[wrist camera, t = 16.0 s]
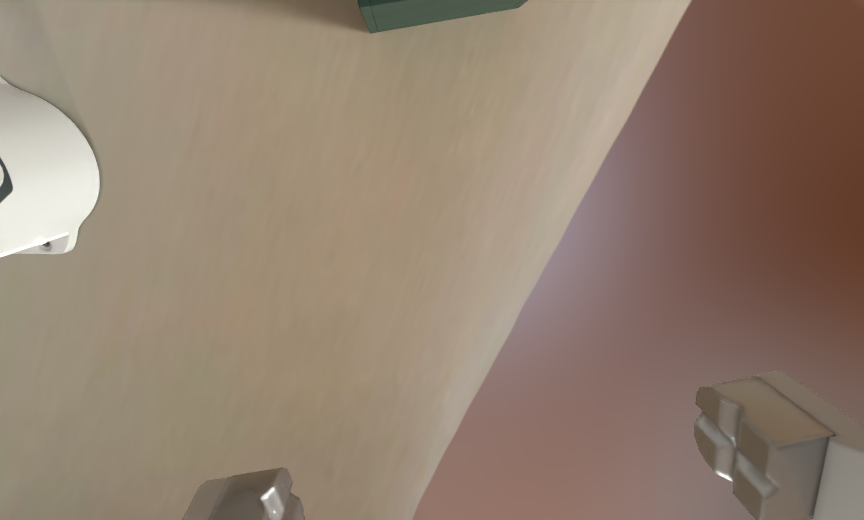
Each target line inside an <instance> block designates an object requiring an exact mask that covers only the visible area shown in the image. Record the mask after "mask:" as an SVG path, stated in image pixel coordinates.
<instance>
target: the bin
mask: <svg viewBox="0 0 864 520" xmlns="http://www.w3.org/2000/svg"><path fill="white" fill-rule="evenodd" d="M526 1H527V0H358V4H359V8H360V11H361V13H362V15H363V18H364V20H365V22H366V24H367V27H368V29H369V31H370V33H376V32H381V31H387V30H393V29H399V28H404V27H410V26H416V25H422V24H428V23H433V22H439V21H445V20H451V19H456V18H462V17H468V16H474V15H479V14H485V13H491V12H497V11H502V10H508V9H514V8H519V7H520V6H521V5H523V4H524V3H525V2H526Z"/></svg>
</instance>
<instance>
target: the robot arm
mask: <svg viewBox="0 0 864 520" xmlns="http://www.w3.org/2000/svg"><path fill="white" fill-rule="evenodd" d="M99 185H100V178H99V171H98V166H97V162H96V159H95V156H94V154H93V151H92V149H91V147H90V145H89V144H88V142H87V140H86V139H85V137H84V136H83V134H82V133H81V131H80V130H79V129H78V128H77V127H76V125H75V124H74V123H73V122H72V121H71V120H70V119H69V118H68V117H67V116H66V115H64V114H63V113H62V112H61V111H60V110H58V109H57V108H56V107H54V106H53V105H51V104H50V103H48V102H46V101H45V100H43V99H41V98H39V97H37V96H35V95H33V94H30V93H28V92H25V91H23V90H20V89H18V88H16V87H14V86H12V85H10V84H8V83H7V82H6V81H5V80H4V79H3V78H1V77H0V257H2V256H6V255H9V254H62V253H65V252H69V251H71V250H72V249H73V248H74V246H75V244H76V240H77V235H78V228H79V226H80V225H81V223H82V222H83V221H84V220H85V218H86V217H87V216H88V215H89V214H90V212H91V211H92V209H93V208H94V205H95V203H96V201H97V198H98V194H99ZM47 242H49V243H50V244H48V243H47ZM696 405H697V406H698V407H699V408H700V409H701V410H702V413H701V414H700V415H699V417H698V418H697V419H696V421H695V422H694V436H695V439H696V442H697V445H698V448H699V451H700V452H701V454H702V456H703V458H704V459H705V461H706V462H707V463H708V465H709V466H710V467H711V468H712V470H713V471H714V472H715V473H717V474H719V475H721V476H723V477H724V478H726V479H729V480H730V481H732V487H733V494H734V495H735V496H736V498H737V499H738V500H739V501H740V502H741V503H742V505H743V506H744V507H745V508H746V509H747V510H748V511H749V513H750V514H751V515H752V516H753V517H754V518H755V519H756V520H810V519H813V520H864V426H863V425H862V424H860V423H859V422H857V421H856V420H854V419H853V418H852V417H850V416H848V415H847V414H846V413H844V412H843V411H841V410H840V409H838V408H837V407H835V406H834V405H833V404H831V403H829V402H828V401H827V400H825V399H824V398H822V397H821V396H820V395H818V394H816V393H815V392H814V391H812V390H811V389H809V388H808V387H806V386H805V385H803V384H802V383H801V382H799V381H798V380H796V379H795V378H793V377H792V376H790V375H789V374H787V373H784V372H780V371H775V372H770V373H765V374H760V375H755V376H752V377H747V378H742V379H737V380H732V381H727V382H722V383H717V384H712V385H707V386H702V387H700V388H699V390H698V391H697V393H696ZM292 483H293V480H292V478H291V476H290V474H289V472H288V469H286V468H277V469H271V470H265V471H259V472H252V473H246V474H240V475H234V476H232V477H227V478H220V479H214V480H208V481H206V482H205V483H204V484H202V485H201V486H200V487H199V489H198V490H197V492H196V494H195V496H194V498H193V500H192V502H191V504H190V505H189V507H188V509H187V511H186V513H185V515H184V517H183V519H182V520H305V516H304V510H303V506H302V503H301V501H300V498H298V497H297V496H295V495H294V494H292V493H291V492H290V490H291V486H292Z"/></svg>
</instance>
